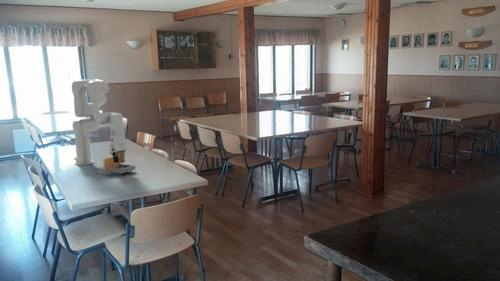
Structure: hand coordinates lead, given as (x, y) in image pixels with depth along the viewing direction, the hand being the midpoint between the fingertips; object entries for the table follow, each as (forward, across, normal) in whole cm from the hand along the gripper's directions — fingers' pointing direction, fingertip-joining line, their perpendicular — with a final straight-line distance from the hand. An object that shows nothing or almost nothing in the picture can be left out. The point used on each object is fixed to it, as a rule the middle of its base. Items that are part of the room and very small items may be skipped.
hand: (119, 160), depth 260 cm
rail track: (+8, 0, +3) cm, 9 cm away
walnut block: (+1, 0, 0) cm, 1 cm away
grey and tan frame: (+8, 0, -1) cm, 8 cm away
